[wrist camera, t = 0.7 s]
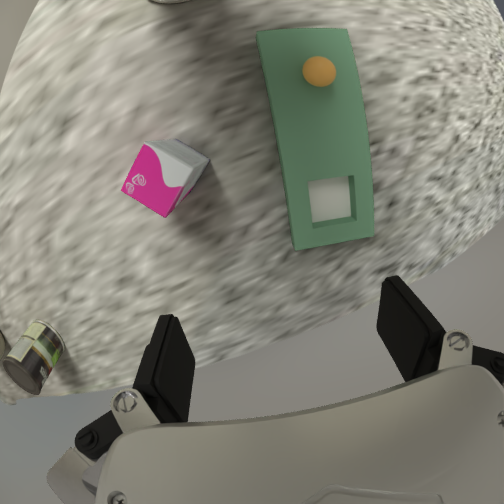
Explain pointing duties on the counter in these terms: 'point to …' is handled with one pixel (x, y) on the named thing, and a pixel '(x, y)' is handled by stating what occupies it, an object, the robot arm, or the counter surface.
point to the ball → (319, 71)
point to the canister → (2, 346)
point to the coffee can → (34, 356)
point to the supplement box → (164, 174)
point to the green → (319, 136)
